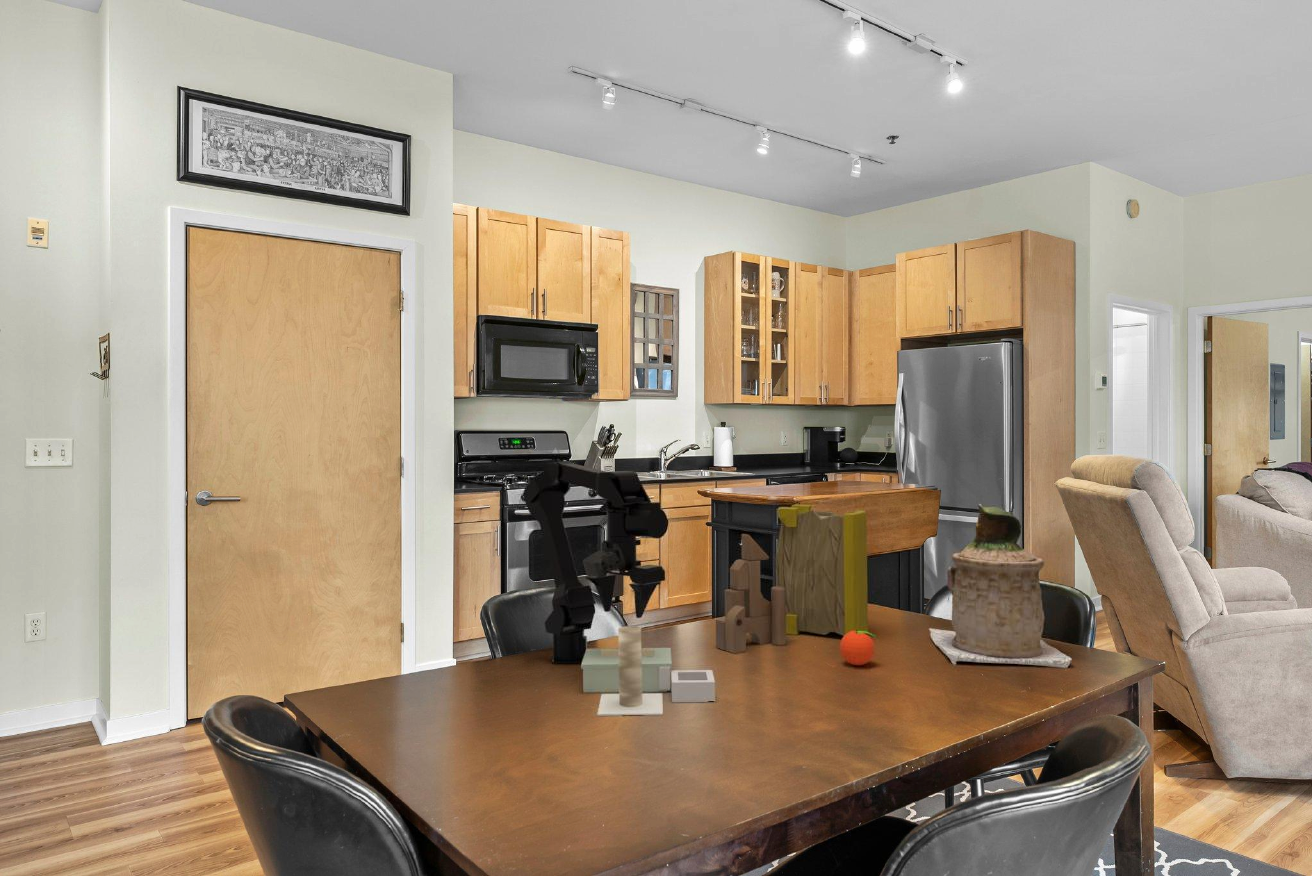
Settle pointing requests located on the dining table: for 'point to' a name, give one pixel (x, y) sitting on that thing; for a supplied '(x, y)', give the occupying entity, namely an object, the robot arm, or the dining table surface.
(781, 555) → the decorative book
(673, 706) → the dining table surface
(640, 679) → the beige cylinder
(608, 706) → the mat
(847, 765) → the dining table surface
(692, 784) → the dining table surface
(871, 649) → the clementine
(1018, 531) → the cookie jar
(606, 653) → the pale green box
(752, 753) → the dining table surface
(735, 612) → the wooden toy
